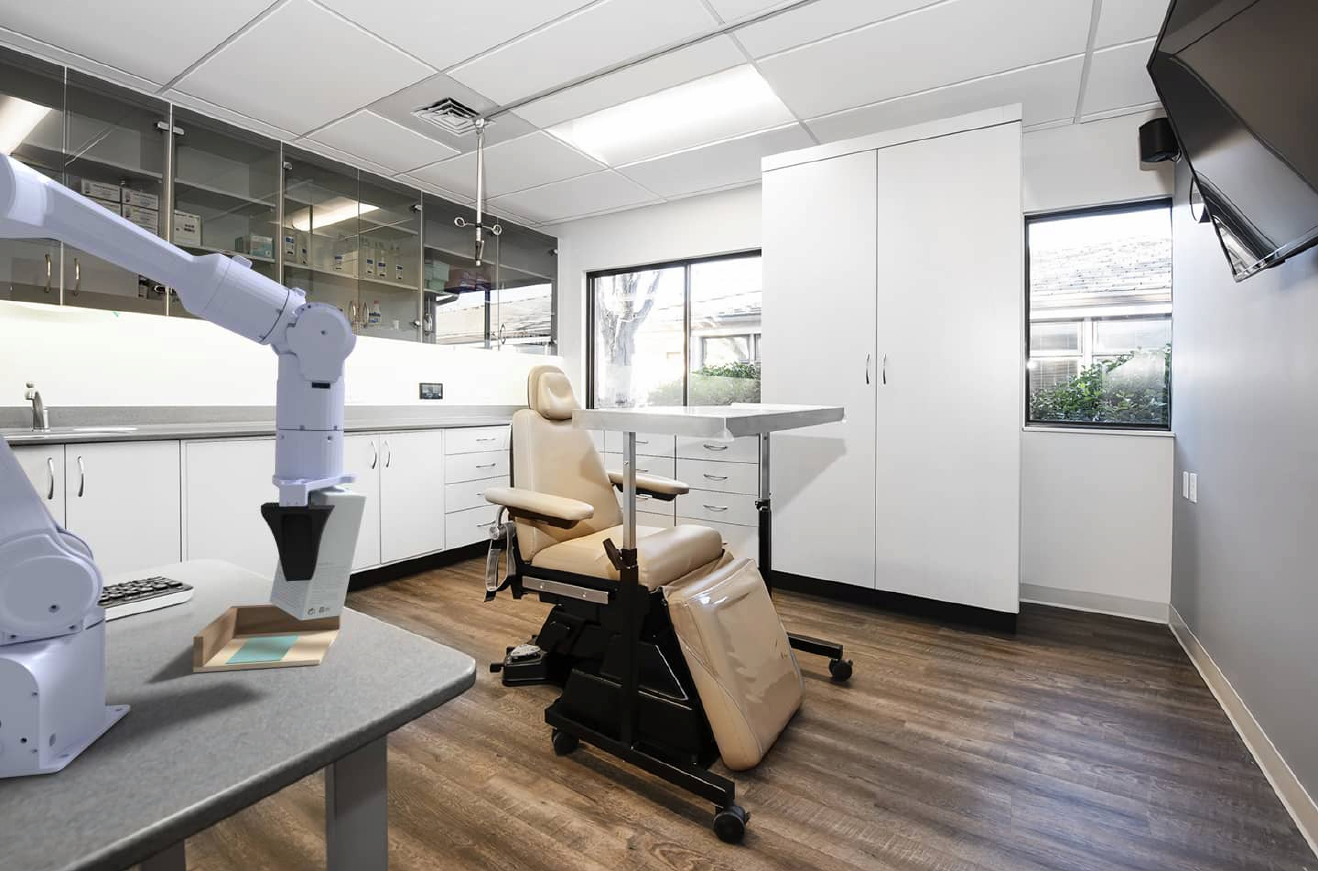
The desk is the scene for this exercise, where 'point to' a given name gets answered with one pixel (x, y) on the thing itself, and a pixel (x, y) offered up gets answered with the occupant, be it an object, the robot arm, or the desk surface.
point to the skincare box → (325, 560)
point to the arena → (262, 639)
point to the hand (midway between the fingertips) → (307, 569)
